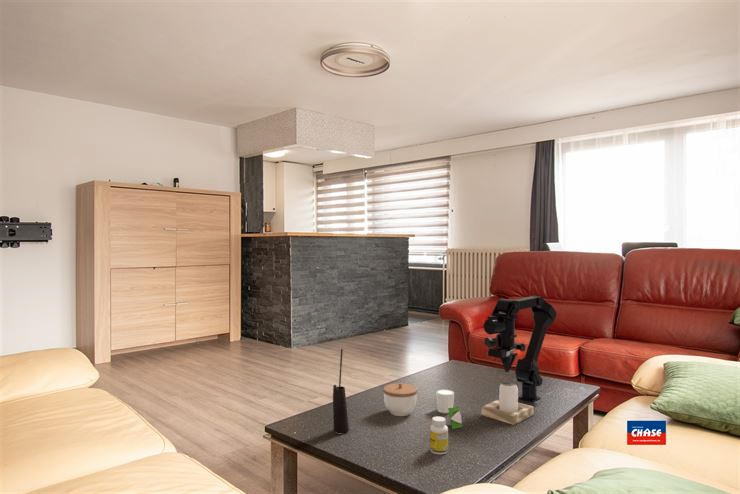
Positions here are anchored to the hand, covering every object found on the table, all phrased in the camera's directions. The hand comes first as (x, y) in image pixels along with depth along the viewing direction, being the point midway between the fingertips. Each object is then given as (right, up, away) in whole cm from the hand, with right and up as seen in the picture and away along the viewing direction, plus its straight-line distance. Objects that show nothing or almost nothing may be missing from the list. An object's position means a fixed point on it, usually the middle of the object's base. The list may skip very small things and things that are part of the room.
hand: (506, 371), depth 179 cm
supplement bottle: (-32, -13, -40) cm, 53 cm away
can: (-3, -13, -11) cm, 18 cm away
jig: (-3, -13, -10) cm, 17 cm away
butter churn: (-64, -13, -24) cm, 69 cm away
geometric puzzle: (-24, -13, -21) cm, 35 cm away
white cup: (-25, -13, -6) cm, 29 cm away
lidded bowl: (-42, -13, -8) cm, 45 cm away
